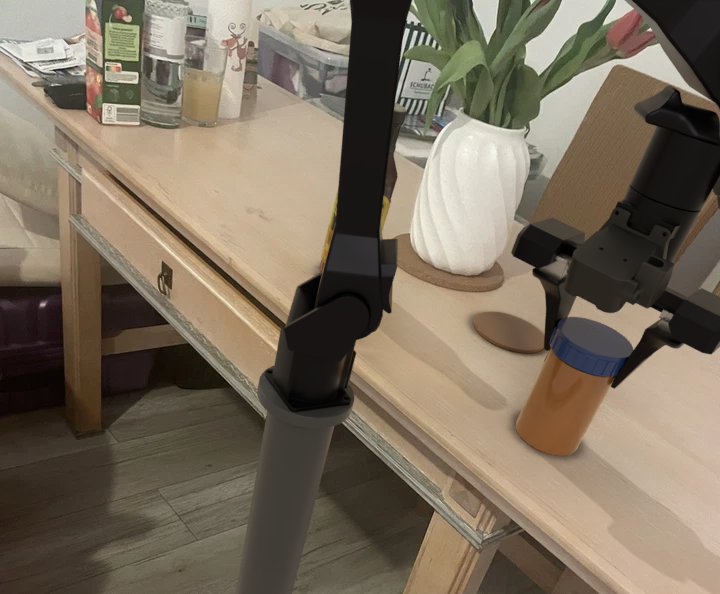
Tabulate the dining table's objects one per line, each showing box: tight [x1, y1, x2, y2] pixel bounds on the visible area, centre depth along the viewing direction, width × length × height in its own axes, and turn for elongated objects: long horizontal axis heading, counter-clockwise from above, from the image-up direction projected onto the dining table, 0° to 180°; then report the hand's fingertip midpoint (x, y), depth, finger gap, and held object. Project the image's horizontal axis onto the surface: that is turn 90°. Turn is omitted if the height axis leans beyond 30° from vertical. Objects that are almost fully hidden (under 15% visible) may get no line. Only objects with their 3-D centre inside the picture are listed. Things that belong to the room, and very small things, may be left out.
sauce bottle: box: [319, 102, 408, 273], centre depth 79 cm, size 7×6×20 cm
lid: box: [549, 316, 634, 376], centre depth 62 cm, size 7×7×2 cm
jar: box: [515, 347, 615, 456], centre depth 65 cm, size 6×6×11 cm
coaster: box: [473, 311, 544, 354], centre depth 84 cm, size 9×9×1 cm
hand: (579, 367), depth 63 cm, fingers closed on lid, 7 cm apart
